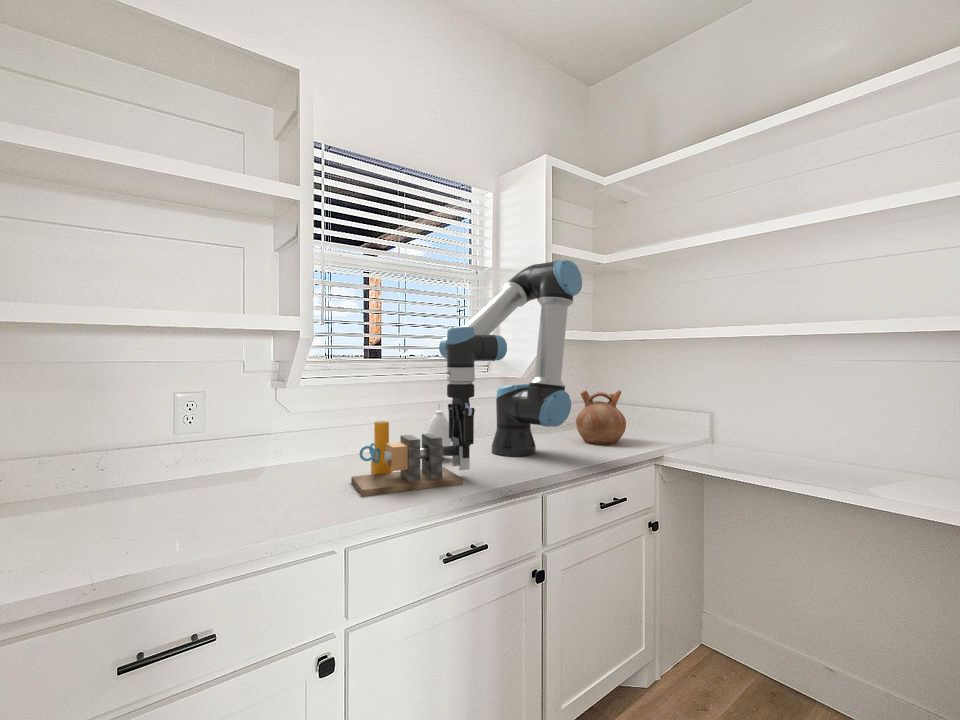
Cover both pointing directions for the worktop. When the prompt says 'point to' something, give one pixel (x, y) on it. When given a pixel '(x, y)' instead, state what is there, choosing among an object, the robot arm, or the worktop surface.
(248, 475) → the worktop surface
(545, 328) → the robot arm
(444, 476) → the jig
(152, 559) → the worktop surface
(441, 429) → the sauce bottle
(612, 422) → the jug
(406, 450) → the block
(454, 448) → the shaft
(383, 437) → the cylinder
